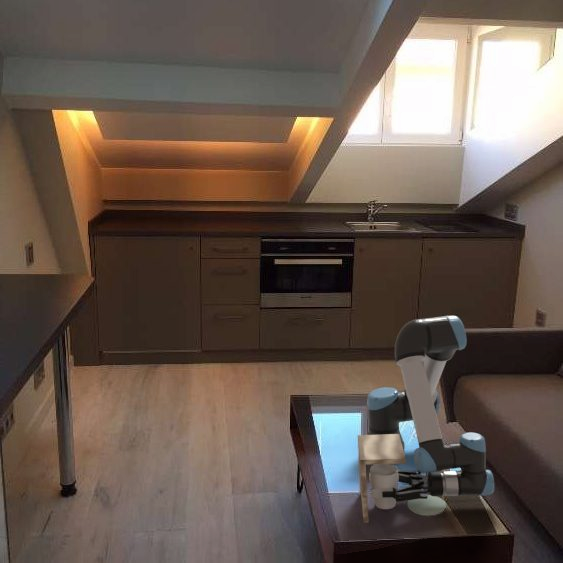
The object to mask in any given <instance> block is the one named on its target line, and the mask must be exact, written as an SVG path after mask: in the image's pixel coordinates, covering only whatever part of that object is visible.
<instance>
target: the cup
mask: <svg viewBox="0 0 563 563" xmlns="http://www.w3.org/2000/svg"><path fill="white" fill-rule="evenodd" d="M398 470H399V468H398V466H396V465H395V464H371V466H370V467H369V474H370V481H371V482H370V486H371V489H373V488H392V491H393V487H394V488H395V489H398V488H399V482H398V481H399V475H398ZM373 501H374V504H375V506H376V507H377V508H379V509H382V510H389V509H393V508H394V507H396V506H397V505H396V504H397V501H396V499H394V498H393V497H387V498H373Z"/></svg>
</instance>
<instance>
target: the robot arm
mask: <svg viewBox="0 0 563 563" xmlns="http://www.w3.org/2000/svg"><path fill="white" fill-rule="evenodd" d="M467 342H468V341H467V334H466V329H465V325H464V323H463V322H462V320H461V319H460V317H459V316H456V315H444V316H435V317H426V318H415V319H412V320H410V321H408V322H407V323H405V324H404V325H403V327H401V329H400V330H399V332H398V334H397V336H396V339H395V343H394V358H395V362H396V366H398V367H400V371H401V375H402V379H403V383H404V386H405V387H404V388H405V389H404V390H403V389H402V390H398V389H396V388H395V387H391V386H388V387H387V386H384V387H378V388H376V389H374V390H372V391H370V392H369V393H368V395H367V398H366V399H367V402H366V408H367V424H368V431H367V434H366V435H382V434H399V435H400V439H401V443H402V447H403V450H404V449H405V441H404V439H403V436H402V433H401V431H400V423H403V422H404V423H405V422H410V421H412V422H413V426H414V430H415V434H416V439H417V442H418V448H415V449H414V450H413V462H414V465H415V468H416V469H417V470H409V469H398V475H399V481H398V483H400V484H401V483H402V484H407V485H405V486H402V487H398V489H395V488H394V487H393V491H392V488H373V489H372V488H370V495H371V496H370V497H371V498H372V499H374V498H387V497H393V498H394V499H396V503H399V502H408V501H409V500H414V499H427V495H428V494H429V495H431V496H437V497H442V496H444V497H455V496H457V497H458V496H463V497H464V496H467V497H468V496H478V497H480V496H488V495H492V494H493V493H494V491H495V479H494V474H493V472H492V470H491V469H487V468H486V467H487V466H486V465H487V464H486V462H487V458H486V457H487V454H486V453H487V448H486V439H485V437H484V436H483V435H481V434H480V433H477V432H471V431H469V432H468V431H467V432H464V433H462V434H460V437H459V441H458V442H451V443H450V442H449V443H444V440H443V436H442V432H441V428H440V423H439V420H438V416H437V415H438V413H439V411H440V404H441V401H440V400H441V399H440V396H439V393H438V391H437V386H438V384H439V382H440V379H441V376H442V374H443V371H444V369H445V366H446V363H447V361H449V360H451V359H452V358H453V357H454V355H455V353H456V351H458V350H459V351H462V350H464V349H465V348H466V347H467ZM404 451H405V450H404ZM453 469H455V470H453ZM456 469H460V470H456ZM422 473H425V474H426V473H428V474H427V475H425V474H422ZM368 480H369V483H370V484H371V481H370V473H369V474H368Z"/></svg>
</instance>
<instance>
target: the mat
mask: <svg viewBox="0 0 563 563" xmlns="http://www.w3.org/2000/svg"><path fill="white" fill-rule="evenodd" d="M407 508H408V509H409V511H411V512H412V513H414V514H416V515H420V516H425V517H429V516H428V515H431V514H433V513H439V512H442V511H444V509H445V508H446V509H447V502H446V501H445V500H444V499H443V498H440V496H431V495H430V494H427V499H414V500H407ZM444 512H445V511H444Z"/></svg>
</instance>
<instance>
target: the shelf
mask: <svg viewBox="0 0 563 563" xmlns="http://www.w3.org/2000/svg"><path fill="white" fill-rule="evenodd" d="M357 445H358V446H357V448H358V449H357V450H358V464H359V465H358V466H359V485H360V486H359V489H360V500H361V511H362V520H363V523H365V524H367V523H369V505H368V503H369V502H368V485H367V468H366V467H367V466H366V465H374V464H393V465H395V464H407V460H406V454H405V450H403V447H402V443H401V439H400V435H399V434H382V435H367V434H358V435H357Z"/></svg>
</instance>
